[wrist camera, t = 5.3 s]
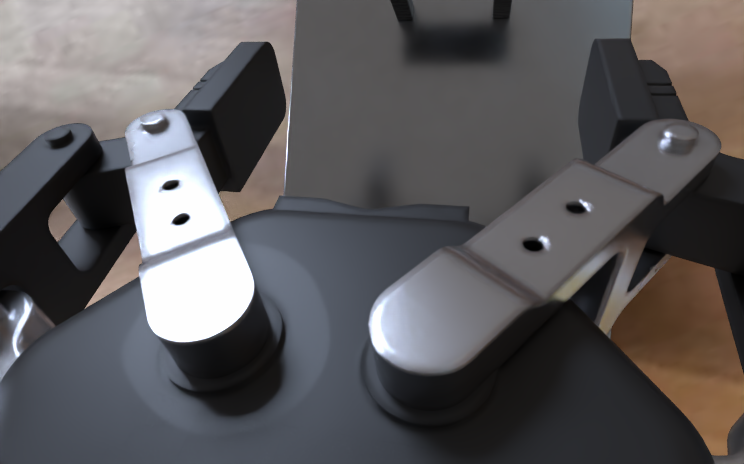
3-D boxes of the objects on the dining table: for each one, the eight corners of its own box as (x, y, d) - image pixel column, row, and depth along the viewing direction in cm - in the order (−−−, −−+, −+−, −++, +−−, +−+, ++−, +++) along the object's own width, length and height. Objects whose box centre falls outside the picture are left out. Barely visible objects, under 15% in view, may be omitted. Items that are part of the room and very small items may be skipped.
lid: (305, -28, 23) (253, -108, 18) (630, -43, 20) (685, -143, 15) (279, 357, 23) (219, 392, 18) (600, 397, 20) (644, 455, 15)
